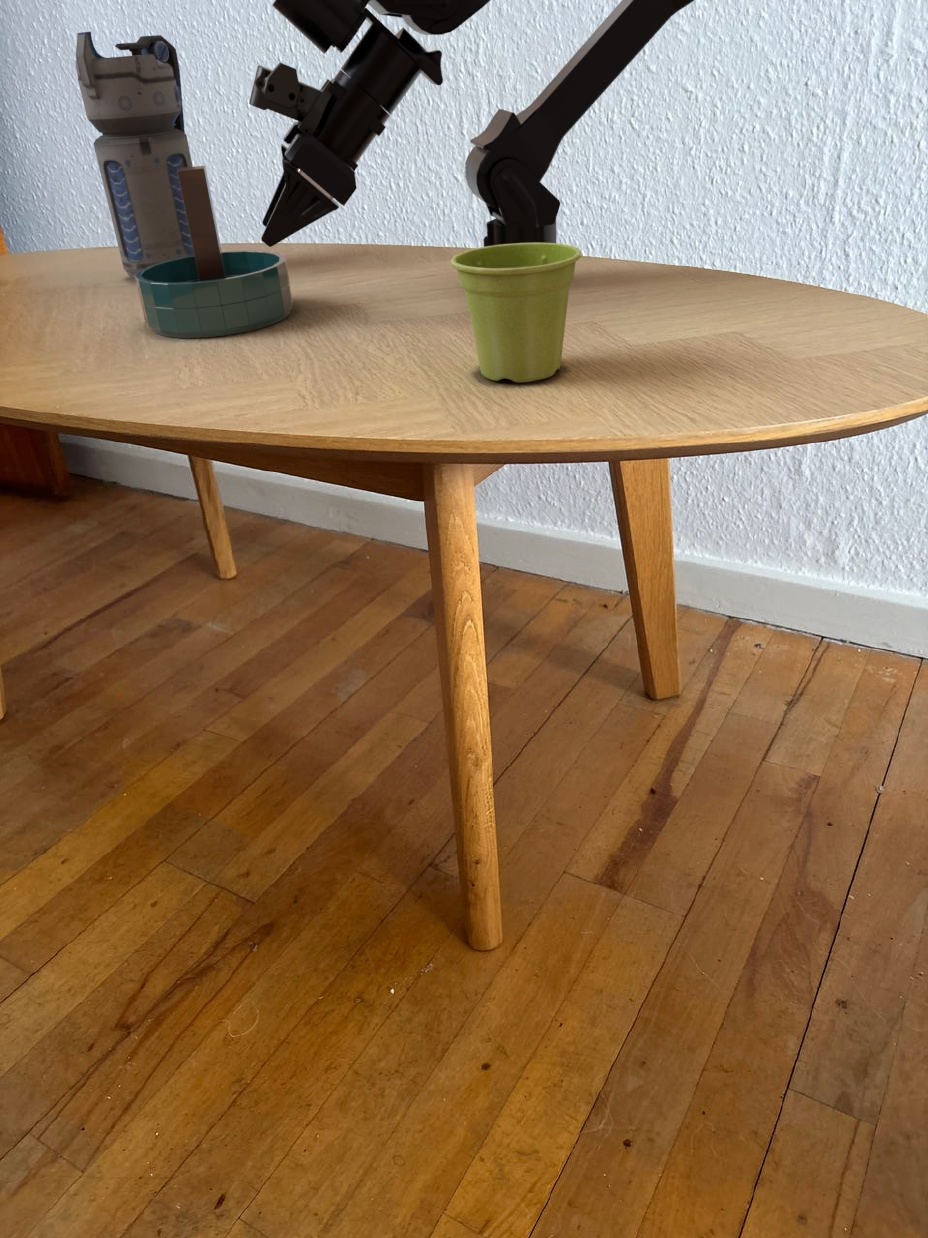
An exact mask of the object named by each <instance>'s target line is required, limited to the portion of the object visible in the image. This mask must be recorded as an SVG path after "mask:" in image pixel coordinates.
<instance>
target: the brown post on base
mask: <svg viewBox="0 0 928 1238" xmlns="http://www.w3.org/2000/svg"><path fill="white" fill-rule="evenodd" d="M177 173H178V178H179V183H180V188H181V192H182V197H183V202H184V207H185V212H186V217H187V222H188V226H189V231H190V236H191V241H192V246H193V251H194V256H195V260H196V265H197V270H198V275H199V280H200V281H207V280H217V279H223V278H227V276H226V271H225V265H224V260H223V255H222V252H223V250H222V245H221V239H220V235H219V230H218V224H217V219H216V214H215V207H214V203H213V197H212V193H211V187H210V182H209V178H208V172H207V167H206V165H195V166H193V167H184V168H179V169H178V171H177Z"/></svg>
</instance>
